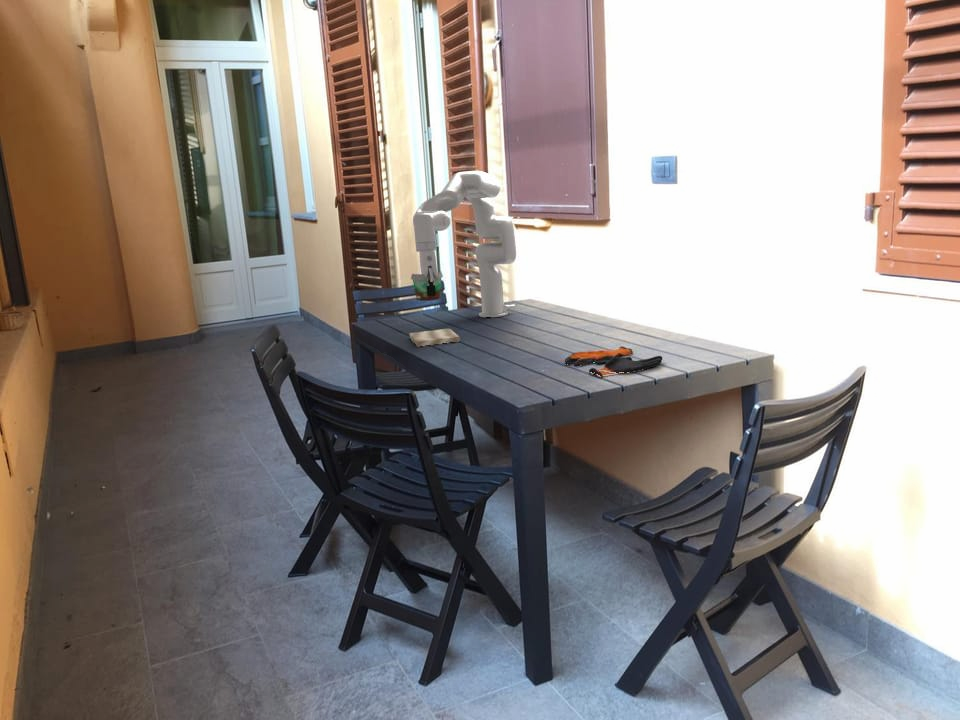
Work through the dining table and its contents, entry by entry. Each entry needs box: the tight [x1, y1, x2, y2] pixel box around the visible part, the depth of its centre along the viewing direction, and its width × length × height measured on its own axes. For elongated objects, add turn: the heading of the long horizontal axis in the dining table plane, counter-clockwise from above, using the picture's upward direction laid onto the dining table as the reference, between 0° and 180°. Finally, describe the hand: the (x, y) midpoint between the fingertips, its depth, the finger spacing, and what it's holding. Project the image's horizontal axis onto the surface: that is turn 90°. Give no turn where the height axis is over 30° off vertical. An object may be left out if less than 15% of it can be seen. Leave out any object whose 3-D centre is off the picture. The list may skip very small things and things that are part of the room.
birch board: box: [409, 327, 461, 348], centre depth 299 cm, size 16×18×2 cm
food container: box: [410, 270, 444, 302], centre depth 293 cm, size 12×6×10 cm, turn 111°
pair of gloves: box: [564, 345, 663, 376], centre depth 243 cm, size 27×24×3 cm
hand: (430, 294), depth 295 cm, fingers closed on food container, 5 cm apart
